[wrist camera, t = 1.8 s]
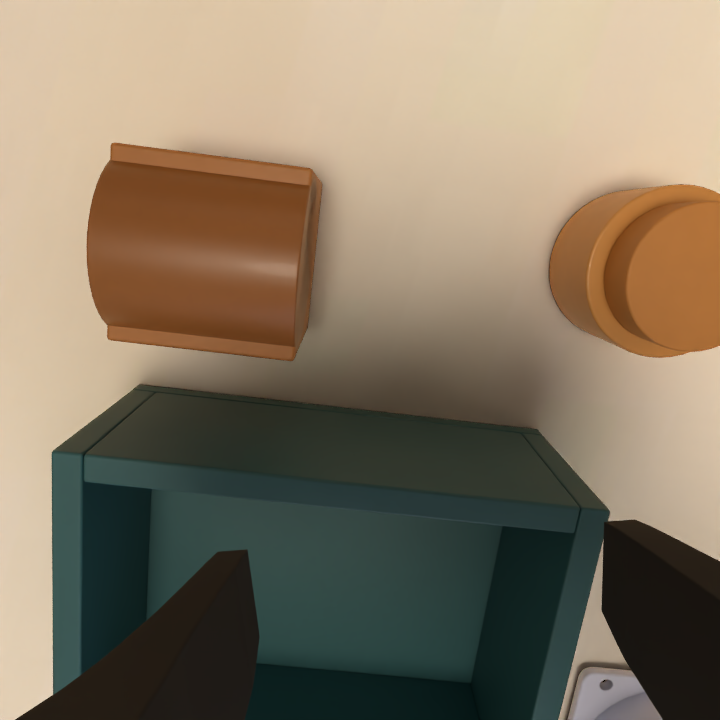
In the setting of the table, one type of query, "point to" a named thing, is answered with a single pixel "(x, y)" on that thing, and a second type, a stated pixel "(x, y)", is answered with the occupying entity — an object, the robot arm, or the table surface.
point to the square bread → (203, 251)
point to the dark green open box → (333, 550)
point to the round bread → (643, 269)
